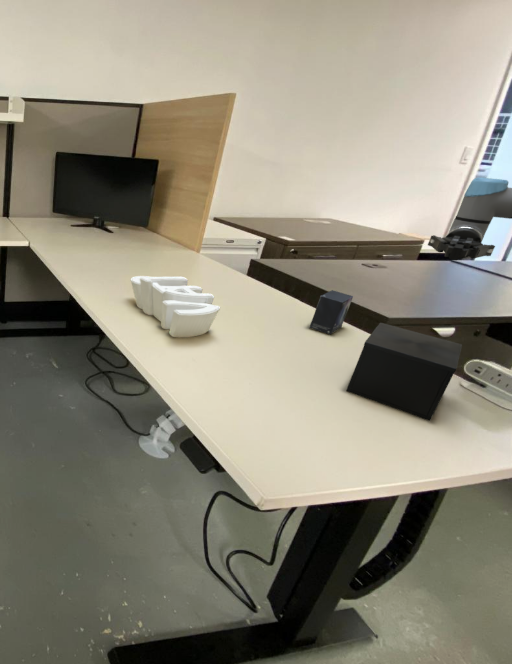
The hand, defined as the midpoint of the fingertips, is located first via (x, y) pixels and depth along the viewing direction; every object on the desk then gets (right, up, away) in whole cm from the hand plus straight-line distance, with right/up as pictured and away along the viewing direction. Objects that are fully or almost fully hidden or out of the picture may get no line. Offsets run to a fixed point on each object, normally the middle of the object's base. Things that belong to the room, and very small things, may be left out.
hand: (455, 253), depth 105 cm
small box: (-8, -16, +36) cm, 40 cm away
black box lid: (-13, -21, -4) cm, 25 cm away
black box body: (-13, -31, +1) cm, 34 cm away
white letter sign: (-56, -13, +33) cm, 67 cm away
